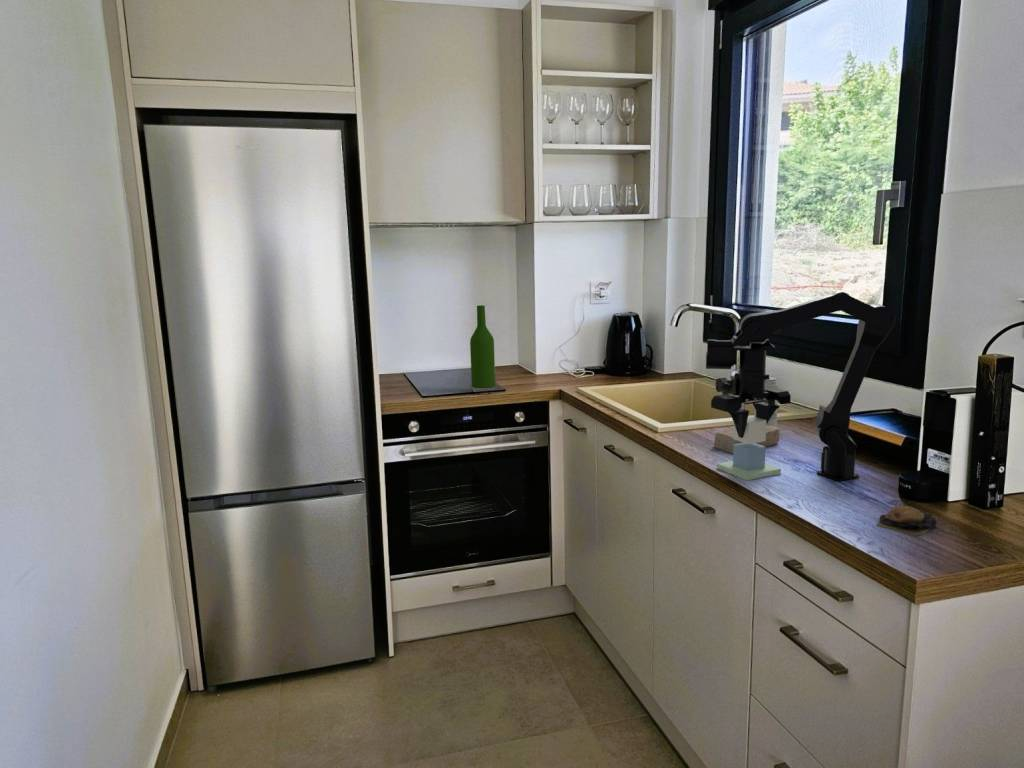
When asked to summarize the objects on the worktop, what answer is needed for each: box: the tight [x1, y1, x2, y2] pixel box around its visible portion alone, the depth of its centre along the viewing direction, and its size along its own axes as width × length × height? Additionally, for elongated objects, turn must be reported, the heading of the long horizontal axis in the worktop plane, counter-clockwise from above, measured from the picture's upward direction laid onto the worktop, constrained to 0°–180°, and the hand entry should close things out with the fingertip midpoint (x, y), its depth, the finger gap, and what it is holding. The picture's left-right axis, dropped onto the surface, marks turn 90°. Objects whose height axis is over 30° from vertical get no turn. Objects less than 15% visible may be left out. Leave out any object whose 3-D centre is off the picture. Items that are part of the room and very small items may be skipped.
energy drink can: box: [753, 376, 779, 427], centre depth 199 cm, size 6×6×15 cm
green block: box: [716, 460, 782, 481], centre depth 165 cm, size 10×10×1 cm
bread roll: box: [876, 505, 937, 537], centre depth 132 cm, size 11×8×4 cm
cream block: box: [733, 415, 766, 444], centre depth 163 cm, size 5×5×5 cm
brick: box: [713, 425, 781, 454], centre depth 186 cm, size 17×8×5 cm, turn 121°
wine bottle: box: [469, 304, 496, 388], centre depth 262 cm, size 9×9×32 cm
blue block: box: [732, 443, 766, 471], centre depth 164 cm, size 5×5×5 cm
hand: (749, 435), depth 163 cm, fingers closed on cream block, 5 cm apart
